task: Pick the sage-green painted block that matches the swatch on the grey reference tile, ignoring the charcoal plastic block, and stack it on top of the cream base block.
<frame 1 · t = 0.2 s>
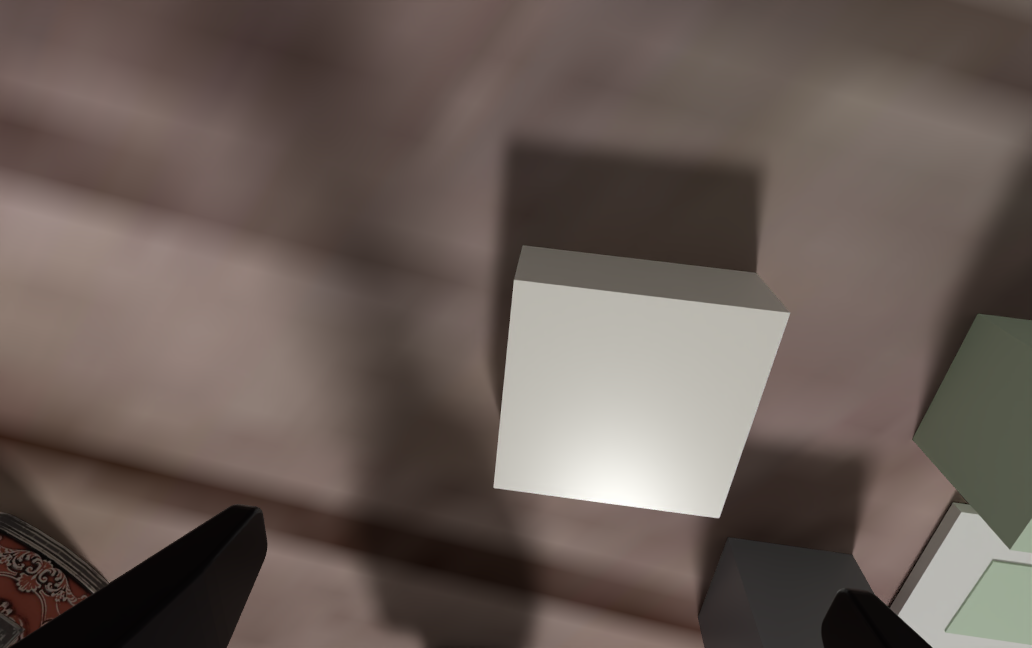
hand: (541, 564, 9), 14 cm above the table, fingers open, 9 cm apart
lighter: (53, 555, 33), on the table
base block: (617, 356, 24), on the table
charcoal block: (770, 586, 28), on the table
sage block: (1017, 388, 22), on the table
reference tile: (1011, 593, 27), on the table
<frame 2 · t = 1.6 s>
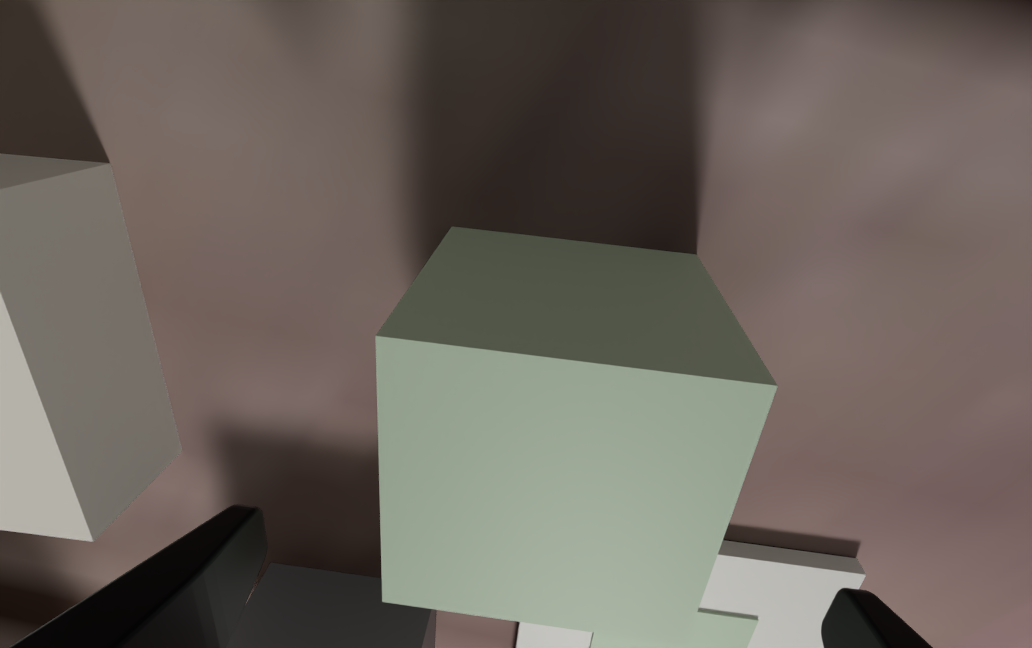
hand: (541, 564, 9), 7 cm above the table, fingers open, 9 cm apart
base block: (10, 305, 16), on the table
charcoal block: (357, 627, 21), on the table
sage block: (558, 346, 15), on the table
reference tile: (660, 638, 20), on the table
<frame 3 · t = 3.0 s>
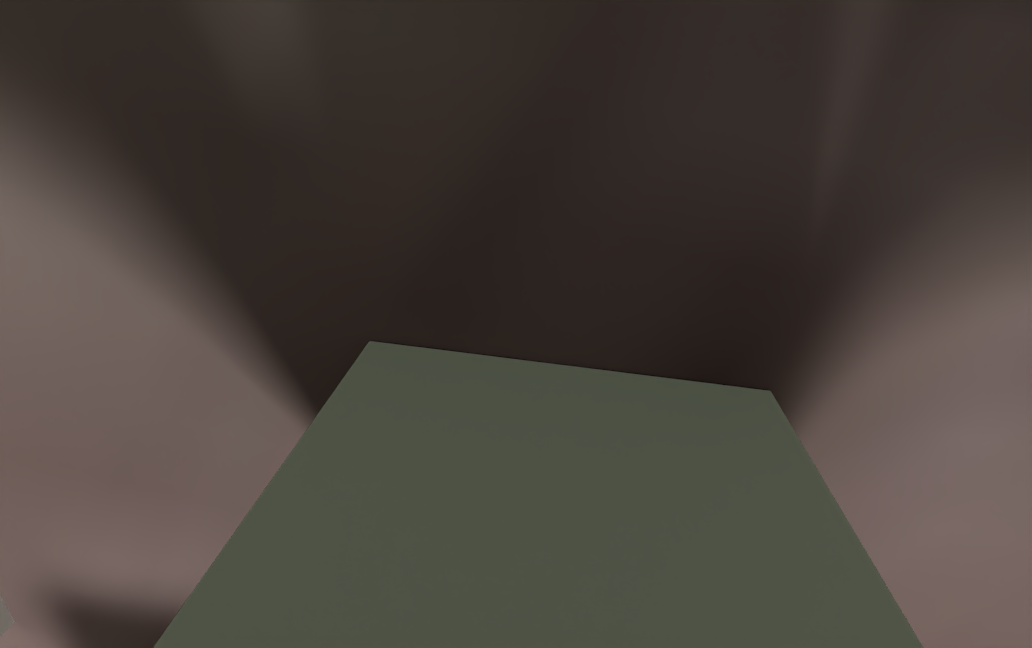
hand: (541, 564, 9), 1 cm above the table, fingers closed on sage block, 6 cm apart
sage block: (544, 514, 10), on the table, touching gripper
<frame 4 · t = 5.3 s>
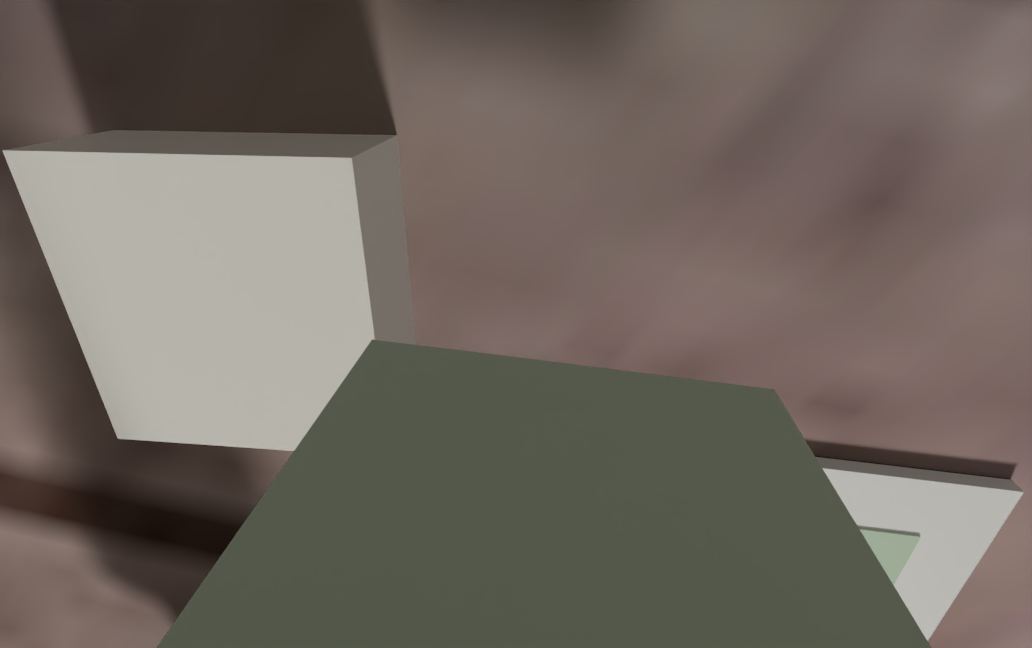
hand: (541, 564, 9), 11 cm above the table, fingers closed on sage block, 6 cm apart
base block: (283, 268, 19), on the table
sage block: (546, 513, 10), point 10 cm above the table, touching gripper
reference tile: (821, 559, 22), on the table
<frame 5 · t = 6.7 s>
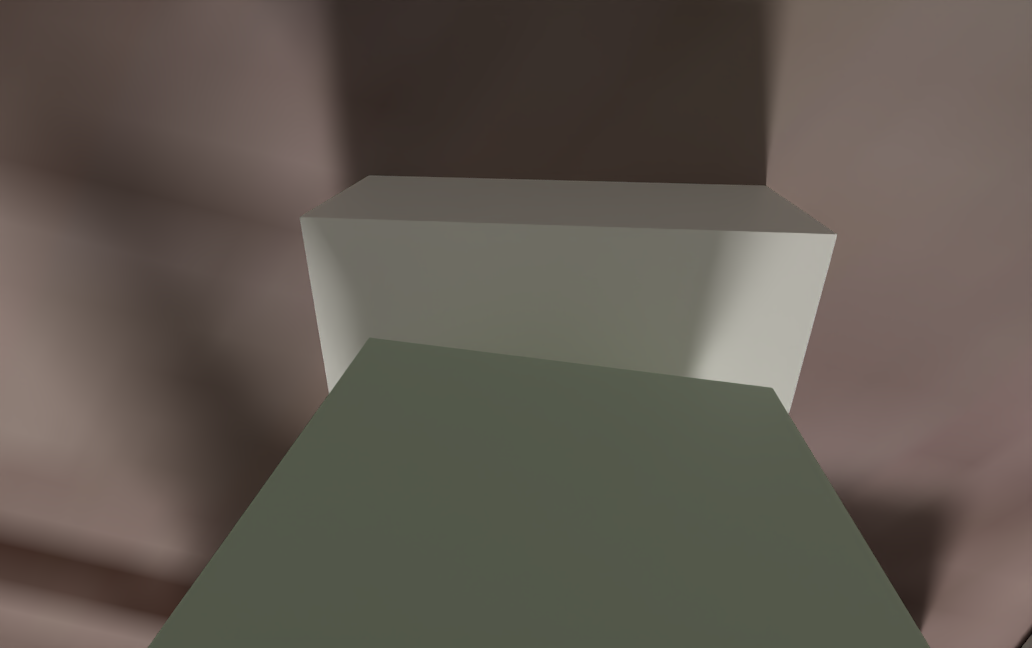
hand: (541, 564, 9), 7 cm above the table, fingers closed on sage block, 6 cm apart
base block: (554, 347, 15), on the table
sage block: (544, 512, 10), point 6 cm above the table, touching gripper
when the fingers open (6 cm above the table, at t = 7.5 s): sage block drops 2 cm, resting on base block.
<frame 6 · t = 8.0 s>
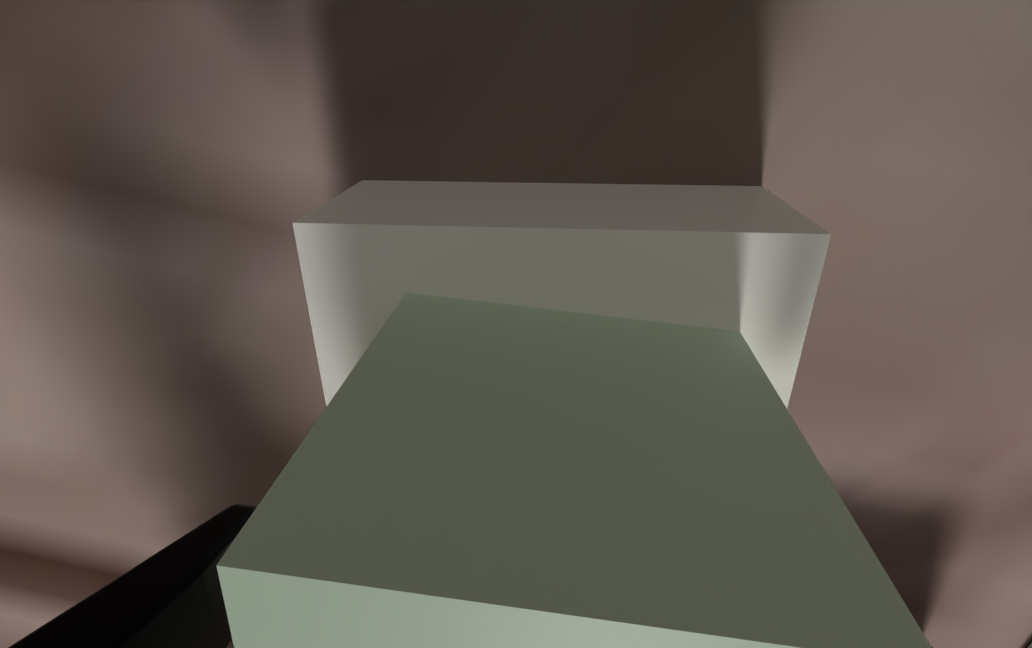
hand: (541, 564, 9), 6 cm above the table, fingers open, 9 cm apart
base block: (551, 349, 15), on the table, touching sage block
sage block: (551, 444, 11), point 4 cm above the table, touching base block
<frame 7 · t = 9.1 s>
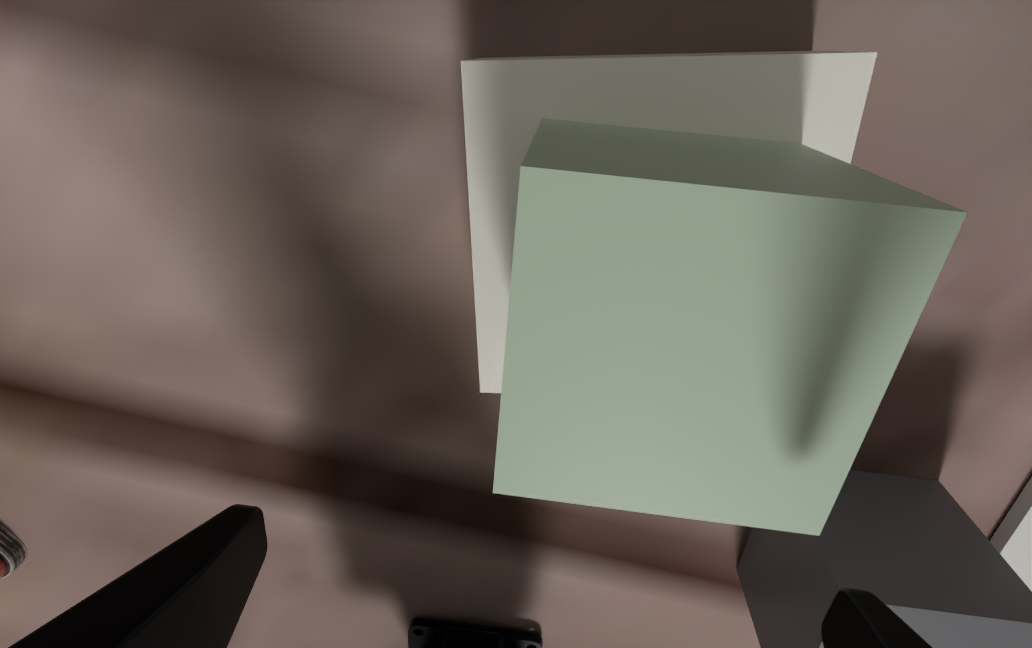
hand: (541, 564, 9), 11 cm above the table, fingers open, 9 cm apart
base block: (630, 210, 18), on the table
charcoal block: (829, 526, 22), on the table
sage block: (646, 253, 14), point 4 cm above the table
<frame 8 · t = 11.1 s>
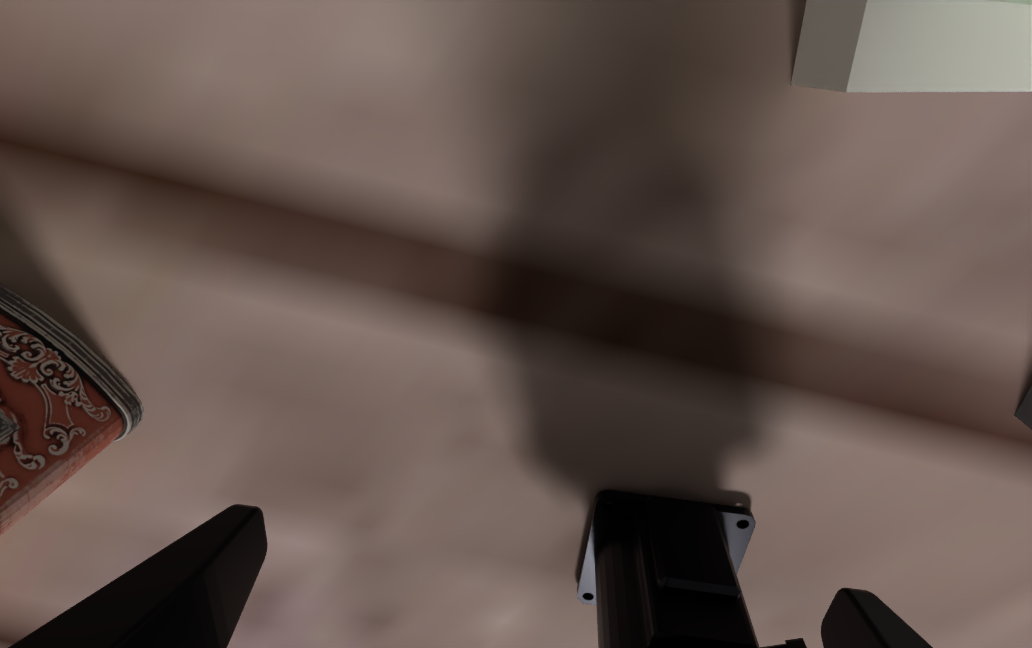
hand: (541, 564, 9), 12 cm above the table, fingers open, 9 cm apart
lighter: (61, 357, 23), on the table
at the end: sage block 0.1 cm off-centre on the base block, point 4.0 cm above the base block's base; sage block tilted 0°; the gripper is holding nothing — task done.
